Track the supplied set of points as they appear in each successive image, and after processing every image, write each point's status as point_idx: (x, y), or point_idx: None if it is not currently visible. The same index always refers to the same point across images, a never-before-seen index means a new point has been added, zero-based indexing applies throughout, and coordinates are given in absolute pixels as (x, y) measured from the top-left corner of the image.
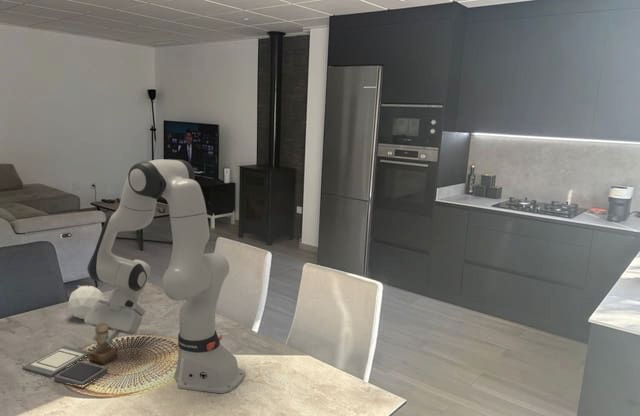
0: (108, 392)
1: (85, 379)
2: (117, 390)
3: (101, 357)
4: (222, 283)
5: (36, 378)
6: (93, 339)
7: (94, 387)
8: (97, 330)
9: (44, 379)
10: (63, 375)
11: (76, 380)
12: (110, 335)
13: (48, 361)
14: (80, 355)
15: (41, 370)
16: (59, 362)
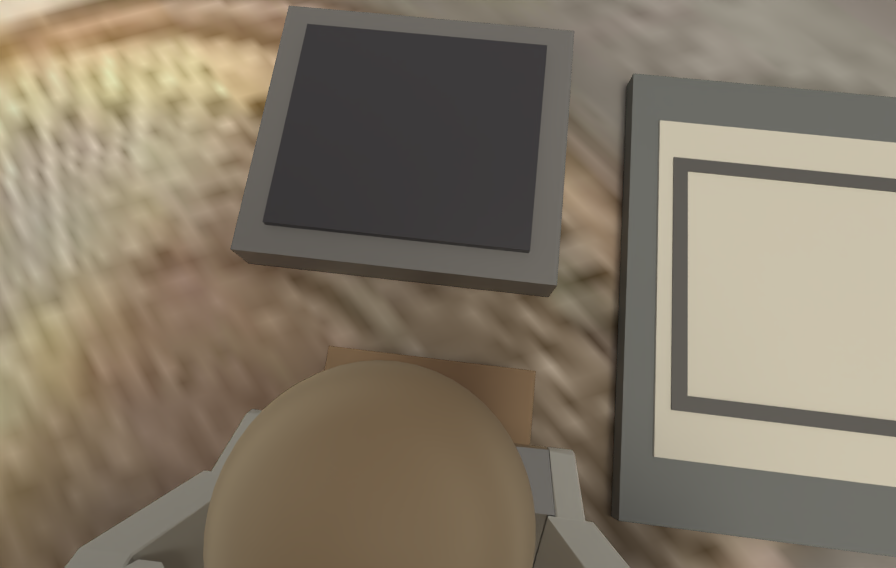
0: (96, 49)
1: (301, 56)
2: (44, 84)
3: (358, 352)
4: None
5: (715, 50)
6: (549, 448)
7: (227, 71)
8: (393, 362)
9: (649, 55)
10: (501, 40)
11: (361, 29)
12: (198, 500)
13: (847, 230)
14: (667, 418)
15: (764, 105)
16: (740, 244)
